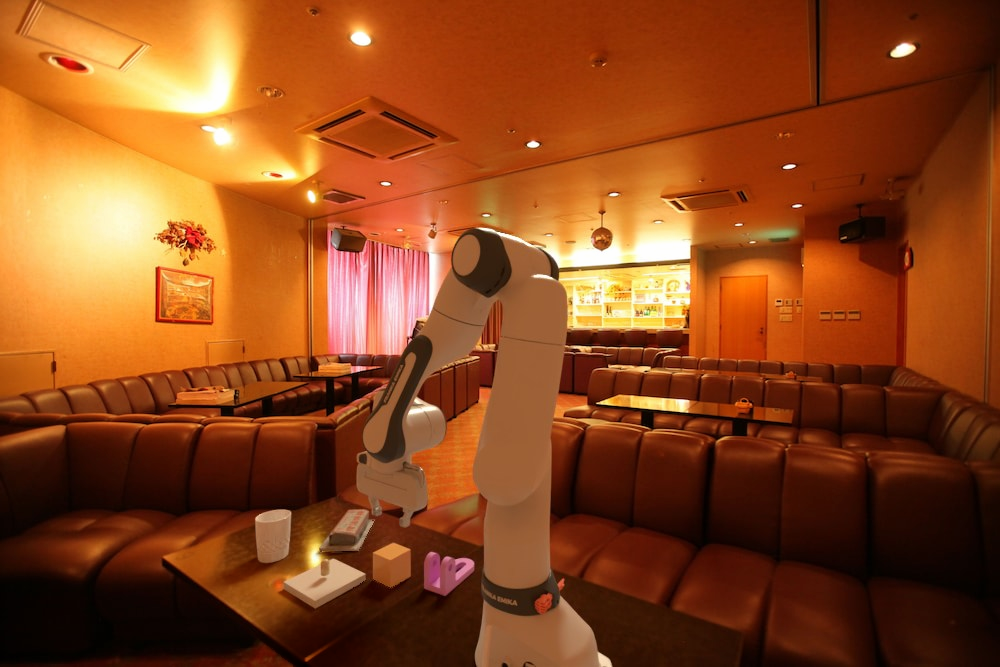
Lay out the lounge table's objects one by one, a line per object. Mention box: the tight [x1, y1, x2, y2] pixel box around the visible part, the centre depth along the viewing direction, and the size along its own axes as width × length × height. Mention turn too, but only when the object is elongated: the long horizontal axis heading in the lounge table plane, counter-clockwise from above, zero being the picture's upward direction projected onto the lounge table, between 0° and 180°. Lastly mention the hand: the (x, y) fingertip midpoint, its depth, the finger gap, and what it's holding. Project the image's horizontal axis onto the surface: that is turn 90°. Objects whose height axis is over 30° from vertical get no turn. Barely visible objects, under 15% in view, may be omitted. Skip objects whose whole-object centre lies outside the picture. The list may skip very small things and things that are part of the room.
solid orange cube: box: [372, 542, 412, 589], centre depth 96 cm, size 6×6×6 cm
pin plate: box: [282, 558, 367, 610], centre depth 94 cm, size 12×12×6 cm
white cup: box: [254, 509, 292, 564], centre depth 106 cm, size 8×8×10 cm
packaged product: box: [318, 508, 376, 553], centre depth 117 cm, size 18×5×10 cm
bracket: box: [423, 551, 475, 597], centre depth 96 cm, size 13×6×7 cm, turn 151°
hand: (390, 520), depth 97 cm, fingers open, 8 cm apart
